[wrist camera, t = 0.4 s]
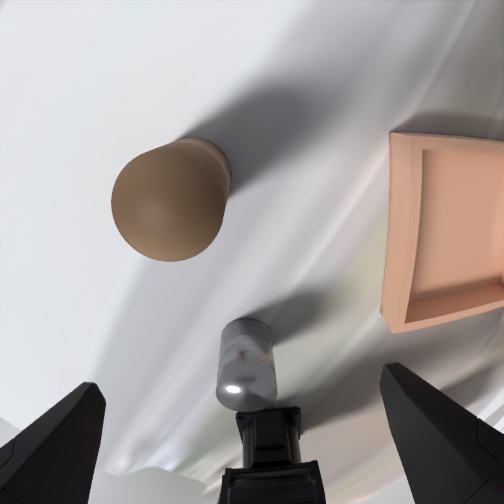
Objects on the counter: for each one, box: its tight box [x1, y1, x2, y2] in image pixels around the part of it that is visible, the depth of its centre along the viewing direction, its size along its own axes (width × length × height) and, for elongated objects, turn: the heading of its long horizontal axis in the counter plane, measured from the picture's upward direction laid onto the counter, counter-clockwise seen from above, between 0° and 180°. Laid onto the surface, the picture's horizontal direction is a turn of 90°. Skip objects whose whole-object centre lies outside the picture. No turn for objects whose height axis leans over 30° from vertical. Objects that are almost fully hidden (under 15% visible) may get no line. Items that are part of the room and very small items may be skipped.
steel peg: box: [216, 318, 277, 412], centre depth 22 cm, size 4×4×6 cm
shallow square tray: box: [380, 132, 504, 334], centre depth 19 cm, size 14×14×3 cm
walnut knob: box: [111, 138, 232, 262], centre depth 16 cm, size 5×5×7 cm
